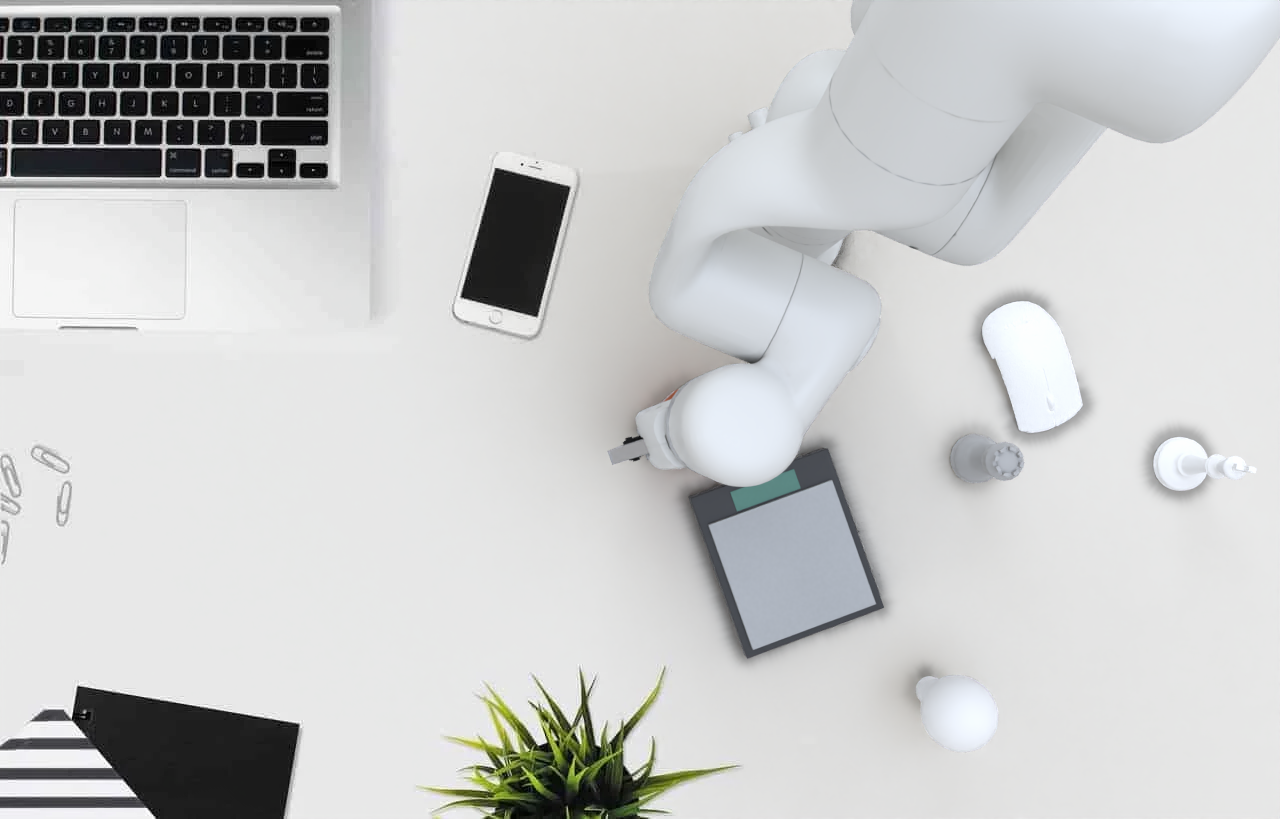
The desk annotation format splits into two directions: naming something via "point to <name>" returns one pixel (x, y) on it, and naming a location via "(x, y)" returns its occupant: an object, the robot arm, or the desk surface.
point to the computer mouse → (1033, 365)
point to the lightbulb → (957, 712)
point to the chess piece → (1193, 464)
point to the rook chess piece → (985, 459)
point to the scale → (787, 554)
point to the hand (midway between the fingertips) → (692, 424)
